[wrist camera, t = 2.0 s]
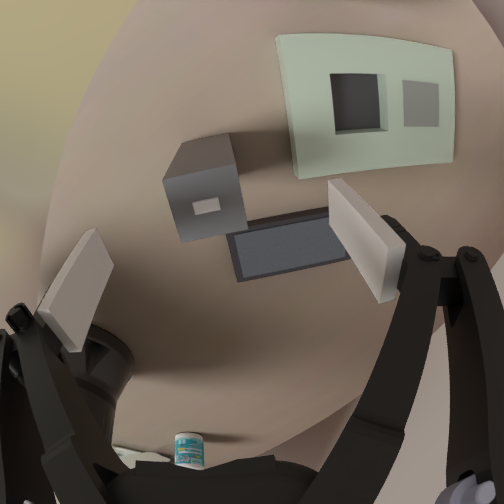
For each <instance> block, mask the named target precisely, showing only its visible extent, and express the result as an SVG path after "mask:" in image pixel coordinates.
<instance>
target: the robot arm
mask: <svg viewBox="0 0 504 504" xmlns="http://www.w3.org/2000/svg"><path fill="white" fill-rule="evenodd" d="M328 196H329V225H330V226H331V228H332V229H333V231H334V232H335V234H336V235H337V237H338V238H339V240H340V241H341V243H342V244H343V246H344V247H345V249H346V251H347V252H348V254H349V255H350V257H351V258H352V260H353V262H354V263H355V265H356V266H357V268H358V270H359V271H360V273H361V274H362V276H363V278H364V279H365V281H366V283H367V284H368V286H369V288H370V289H371V291H372V293H373V294H374V296H375V298H376V300H377V301H378V303H379V304H380V303H384V302H387V301H391V300H394V299H395V296H396V292H397V289H398V290H399V292H400V296H399V300H398V303H397V306H396V309H395V312H394V315H393V318H392V321H391V324H390V327H389V330H388V333H387V335H386V338H385V341H384V344H383V346H382V349H381V351H380V354H379V357H378V359H377V361H376V364H375V366H374V369H373V371H372V374H371V376H370V378H369V380H368V383H367V385H366V387H365V389H364V392H363V394H362V396H361V398H360V400H359V402H358V405H357V407H356V408H355V411H354V413H353V414H352V416H351V417H350V419H349V421H348V422H347V424H346V426H345V428H344V430H343V432H342V433H341V435H340V437H339V439H338V441H337V443H336V444H335V446H334V448H333V450H332V451H331V453H330V455H329V456H328V458H327V460H326V462H325V463H324V465H323V466H322V468H321V469H320V471H319V473H318V472H317V471H315V470H313V469H311V468H309V467H306V466H303V465H300V464H296V463H293V462H287V461H277V460H276V459H275V456H274V455H269V456H261V457H254V458H246V459H237V460H234V461H231V462H228V463H224V464H221V465H218V466H214V467H211V468H208V469H204V470H196V469H192V468H187V467H183V466H179V465H175V464H171V463H168V462H152V461H137V460H136V466H135V468H133V469H129V468H128V467H127V466H126V465H125V464H124V463H123V462H122V461H121V460H120V458H119V457H118V455H117V454H116V452H115V451H114V449H113V448H112V446H111V443H112V434H113V425H114V417H115V410H116V403H117V400H118V398H119V397H120V395H121V393H122V391H123V389H124V388H125V386H126V384H127V382H128V381H129V380H130V378H131V376H132V371H133V365H134V359H133V356H132V354H131V352H130V350H129V349H128V348H127V347H126V346H125V345H124V344H123V343H122V342H121V341H120V340H119V339H118V338H116V337H115V336H113V335H112V334H110V333H108V332H107V331H105V330H103V329H100V328H98V327H95V326H93V325H91V322H92V319H93V316H94V314H95V311H96V309H97V306H98V303H99V301H100V298H101V296H102V293H103V291H104V288H105V286H106V284H107V281H108V279H109V277H110V274H111V272H112V270H113V267H114V264H113V262H112V260H111V258H110V256H109V254H108V252H107V250H106V248H105V246H104V243H103V241H102V239H101V237H100V235H99V232H98V230H97V228H94V229H90V230H86V232H85V233H84V234H83V236H82V237H81V239H80V240H79V242H78V243H77V245H76V246H75V248H74V249H73V251H72V252H71V254H70V255H69V257H68V258H67V260H66V261H65V263H64V265H63V266H62V268H61V269H60V271H59V273H58V274H57V276H56V278H55V279H54V281H53V283H52V284H51V285H50V286H49V288H48V290H47V291H46V294H45V295H44V297H43V298H42V299H43V300H41V302H40V304H39V306H38V308H37V309H36V311H35V313H34V315H32V314H31V312H30V311H29V310H28V308H27V307H26V305H25V304H24V303H18V304H17V305H15V306H14V307H13V308H12V309H10V311H9V312H8V314H7V316H6V319H5V320H6V322H7V323H8V324H9V326H10V327H11V328H12V329H13V331H14V332H15V333H14V334H12V335H9V334H8V333H7V332H6V330H5V329H0V504H56V499H55V495H56V497H57V499H58V500H59V502H60V504H373V503H374V501H375V499H376V498H377V496H378V494H379V492H380V490H381V488H382V487H383V485H384V483H385V481H386V479H387V477H388V475H389V472H390V470H391V468H392V466H393V464H394V462H395V460H396V457H397V455H398V453H399V450H400V448H401V445H402V443H403V440H404V436H405V433H404V428H405V425H406V422H407V419H408V417H409V414H410V411H411V408H412V405H413V402H414V399H415V396H416V393H417V390H418V386H419V383H420V380H421V376H422V373H423V369H424V365H425V361H426V357H427V353H428V349H429V344H430V340H431V335H432V330H433V325H434V320H435V314H436V309H437V306H443V312H444V319H445V327H446V335H447V345H448V357H449V375H450V424H449V425H450V426H449V441H448V452H447V465H446V466H447V467H446V487H447V488H446V489H444V490H443V491H442V492H441V493H440V495H439V496H438V498H437V500H436V502H435V504H504V309H503V306H502V303H501V299H500V296H499V293H498V291H497V288H496V285H495V282H494V280H493V277H492V274H491V272H490V269H489V267H488V264H487V262H486V259H485V257H484V255H483V254H482V253H481V252H480V251H479V250H478V249H476V248H474V247H469V246H463V247H461V248H459V250H458V252H457V255H456V257H442V255H441V253H440V252H439V251H438V250H436V249H435V248H432V247H430V246H424V245H422V246H421V245H420V244H419V243H418V242H417V241H416V240H415V239H414V238H413V237H412V236H411V235H410V233H409V232H408V231H406V229H405V228H404V227H403V226H401V224H400V223H399V222H398V221H397V220H396V219H394V218H392V217H390V216H388V215H382V216H379V215H378V214H377V213H376V212H375V211H374V210H373V209H372V208H371V207H370V206H369V205H368V204H367V203H366V202H365V201H364V200H363V199H362V198H361V197H360V196H359V195H358V194H357V193H356V192H355V191H354V190H353V189H352V188H351V187H350V186H349V185H348V184H347V183H346V182H345V181H343V180H342V179H341V178H338V179H331V180H328ZM54 492H55V495H54Z"/></svg>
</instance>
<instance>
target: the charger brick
mask: <svg viewBox="0 0 504 504" xmlns="http://www.w3.org/2000/svg"><path fill="white" fill-rule="evenodd" d="M162 181H163V185H164V188H165V192H166V195H167V198H168V202H169V205H170V208H171V211H172V214H173V218H174V221H175V224H176V227H177V230H178V233H179V236H180V239H181V242H182V243H183V242H188V241H193V240H198V239H203V238H207V237H212V236H217V235H222V234H227V233H232V232H237V231H242V230H247V229H248V225H247V220H246V215H245V209H244V204H243V199H242V193H241V188H240V183H239V178H238V172H237V167H236V162H235V158H234V154H233V150H232V145H231V141H230V137H229V133H226V134H221V135H216V136H211V137H206V138H202V139H197V140H193V141H189V142H185V143H182V144H181V146H180V148H179V149H178V151H177V153H176V155H175V157H174V159H173V161H172V162H171V164H170V166H169V168H168V170H167V172H166V174H165V176H164V178H163V180H162Z"/></svg>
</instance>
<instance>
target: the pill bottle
mask: <svg viewBox="0 0 504 504" xmlns="http://www.w3.org/2000/svg"><path fill="white" fill-rule="evenodd" d="M175 465H179V466H183V467H187V468H192V469H196V470H204V447H203V437H202V436H201V435H199V434H196V433H190V432H184V433H179V434H177V435H176V437H175Z"/></svg>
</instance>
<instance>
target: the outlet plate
mask: <svg viewBox="0 0 504 504" xmlns="http://www.w3.org/2000/svg"><path fill="white" fill-rule="evenodd" d="M275 41H276V47H277V52H278V58H279V65H280V71H281V77H282V84H283V90H284V97H285V104H286V112H287V119H288V127H289V135H290V143H291V151H292V160H293V169H294V174H295V175H296V176H297V178H298V179H299V180H300V179H306V178H313V177H319V176H326V175H333V174H341V173H348V172H356V171H364V170H373V169H382V168H391V167H401V166H412V165H424V164H437V163H453V150H454V133H455V85H454V68H453V57H452V50H449V49H445V48H441V47H436V46H432V45H427V44H422V43H417V42H412V41H406V40H400V39H393V38H385V37H376V36H366V35H353V34H325V33H312V34H285V35H279V36H277V37H276V38H275Z"/></svg>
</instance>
